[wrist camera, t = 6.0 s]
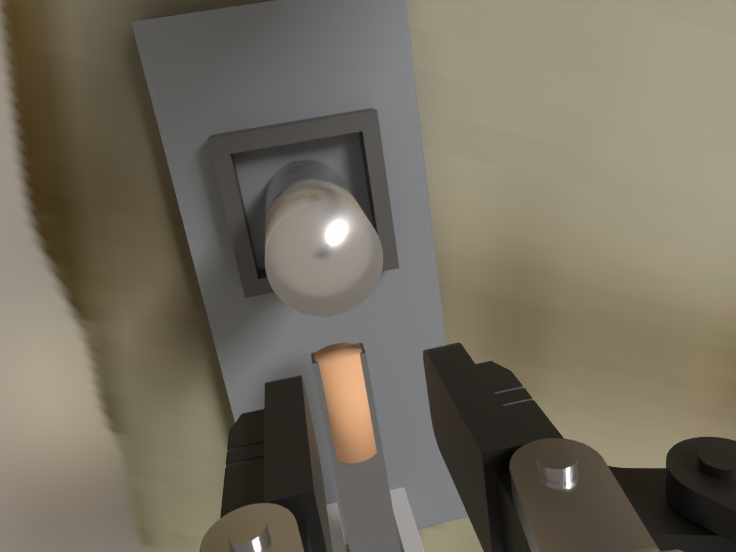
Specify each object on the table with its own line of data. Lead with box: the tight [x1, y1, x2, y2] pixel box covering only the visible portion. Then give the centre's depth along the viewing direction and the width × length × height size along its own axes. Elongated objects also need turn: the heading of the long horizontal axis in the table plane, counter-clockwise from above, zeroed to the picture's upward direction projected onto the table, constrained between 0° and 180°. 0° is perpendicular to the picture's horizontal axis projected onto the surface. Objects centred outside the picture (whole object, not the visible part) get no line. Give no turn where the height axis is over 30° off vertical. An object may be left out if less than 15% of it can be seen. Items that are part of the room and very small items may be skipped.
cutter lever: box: [311, 343, 400, 552], centre depth 31 cm, size 17×2×2 cm, turn 8°
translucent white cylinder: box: [265, 159, 383, 317], centre depth 26 cm, size 4×4×10 cm
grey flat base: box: [131, 0, 467, 552], centre depth 30 cm, size 30×12×8 cm, turn 8°
